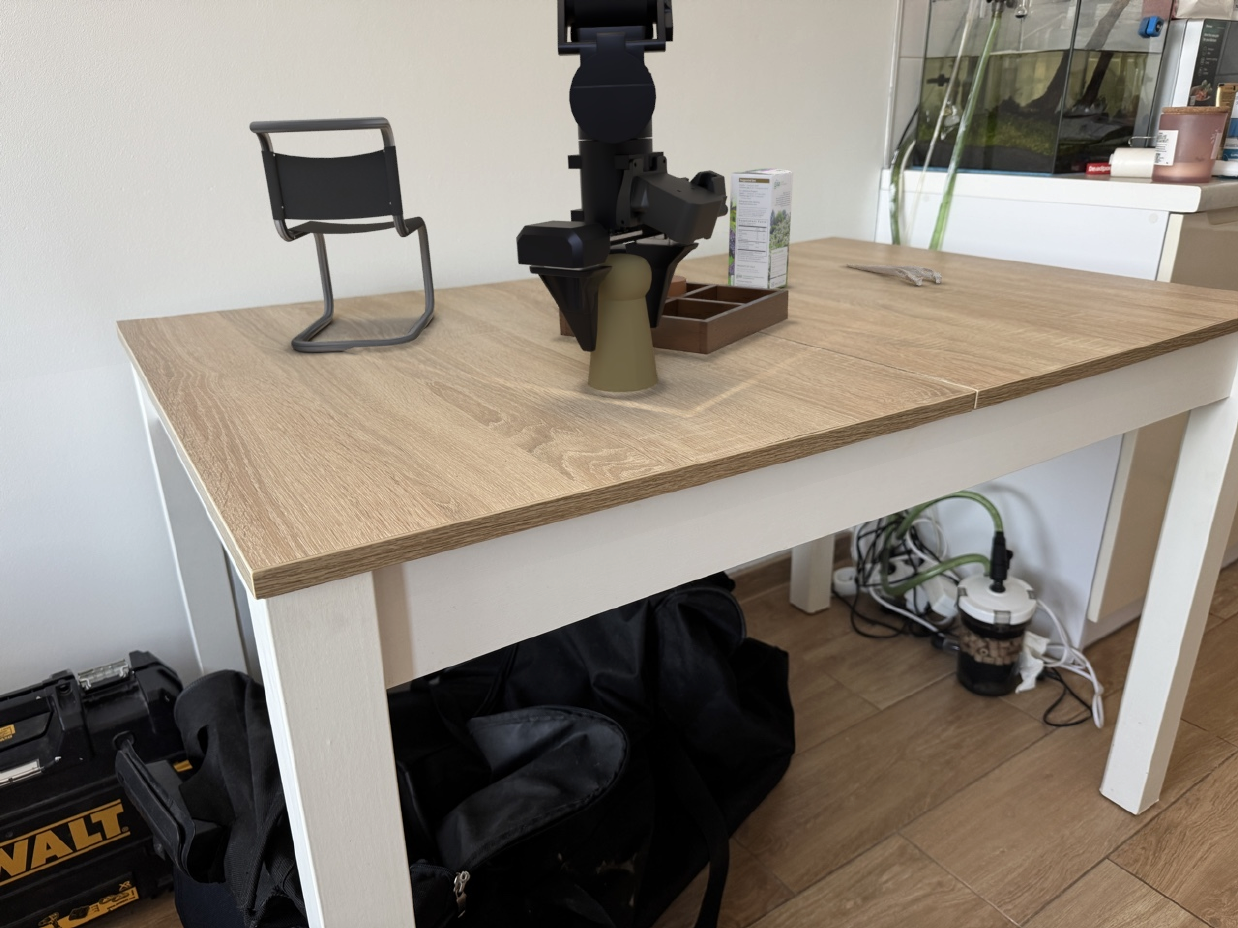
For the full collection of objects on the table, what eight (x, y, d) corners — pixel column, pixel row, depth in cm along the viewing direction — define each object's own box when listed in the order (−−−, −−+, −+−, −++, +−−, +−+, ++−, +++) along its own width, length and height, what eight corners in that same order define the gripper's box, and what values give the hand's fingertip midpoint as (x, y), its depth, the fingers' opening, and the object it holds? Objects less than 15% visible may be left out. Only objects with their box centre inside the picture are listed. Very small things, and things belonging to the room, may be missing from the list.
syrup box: (748, 283, 120) (750, 168, 115) (789, 286, 117) (793, 168, 112) (727, 290, 116) (728, 171, 111) (769, 294, 113) (772, 171, 108)
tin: (632, 317, 101) (631, 280, 99) (657, 308, 105) (656, 273, 103) (671, 321, 98) (670, 284, 97) (694, 312, 102) (694, 276, 100)
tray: (560, 339, 94) (558, 305, 93) (651, 308, 107) (651, 278, 106) (707, 359, 85) (707, 322, 83) (787, 322, 98) (788, 290, 97)
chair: (282, 355, 92) (242, 121, 84) (327, 319, 108) (297, 120, 100) (412, 349, 92) (384, 116, 84) (437, 314, 108) (416, 116, 100)
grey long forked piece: (944, 283, 116) (945, 267, 115) (914, 287, 114) (914, 271, 114) (860, 273, 132) (860, 259, 131) (832, 276, 130) (832, 262, 129)
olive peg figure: (585, 379, 80) (579, 251, 76) (654, 375, 80) (651, 248, 76) (589, 399, 74) (583, 262, 70) (663, 395, 74) (661, 259, 70)
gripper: (634, 144, 59) (640, 379, 64) (765, 133, 73) (760, 326, 78) (504, 146, 65) (520, 360, 70) (648, 135, 79) (651, 314, 84)
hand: (621, 338), depth 76 cm, fingers open, 9 cm apart
